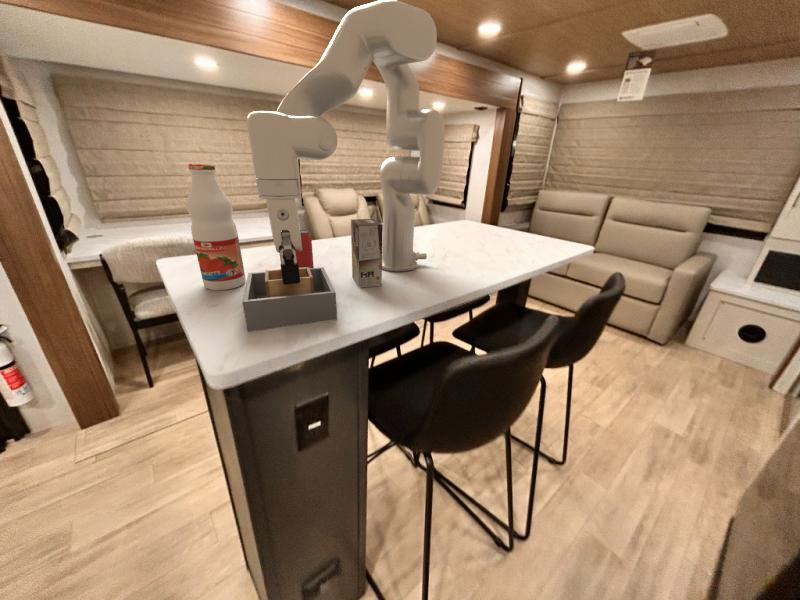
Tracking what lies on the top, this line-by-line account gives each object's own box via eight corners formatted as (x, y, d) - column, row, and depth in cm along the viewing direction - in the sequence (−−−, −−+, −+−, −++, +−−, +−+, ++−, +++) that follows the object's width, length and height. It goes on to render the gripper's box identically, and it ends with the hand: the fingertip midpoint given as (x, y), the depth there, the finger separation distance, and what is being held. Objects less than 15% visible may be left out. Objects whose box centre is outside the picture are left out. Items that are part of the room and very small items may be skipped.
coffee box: (382, 285, 82) (383, 224, 75) (359, 288, 79) (358, 225, 73) (372, 274, 89) (373, 218, 83) (351, 276, 87) (349, 218, 81)
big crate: (325, 290, 77) (323, 267, 75) (337, 319, 63) (335, 292, 61) (252, 297, 72) (248, 272, 69) (247, 331, 57) (242, 301, 55)
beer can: (310, 277, 85) (306, 234, 80) (286, 276, 85) (281, 233, 80) (316, 270, 91) (313, 229, 86) (294, 269, 91) (290, 228, 86)
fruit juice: (253, 279, 82) (234, 165, 71) (232, 292, 74) (207, 165, 62) (219, 276, 83) (195, 163, 72) (195, 289, 74) (163, 163, 63)
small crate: (311, 296, 72) (308, 267, 69) (315, 308, 66) (312, 277, 63) (269, 300, 68) (265, 270, 66) (269, 313, 63) (265, 281, 60)
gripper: (304, 193, 52) (313, 288, 59) (296, 185, 66) (305, 261, 73) (255, 194, 49) (271, 293, 56) (258, 185, 64) (271, 264, 71)
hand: (290, 275), depth 65 cm, fingers open, 9 cm apart
